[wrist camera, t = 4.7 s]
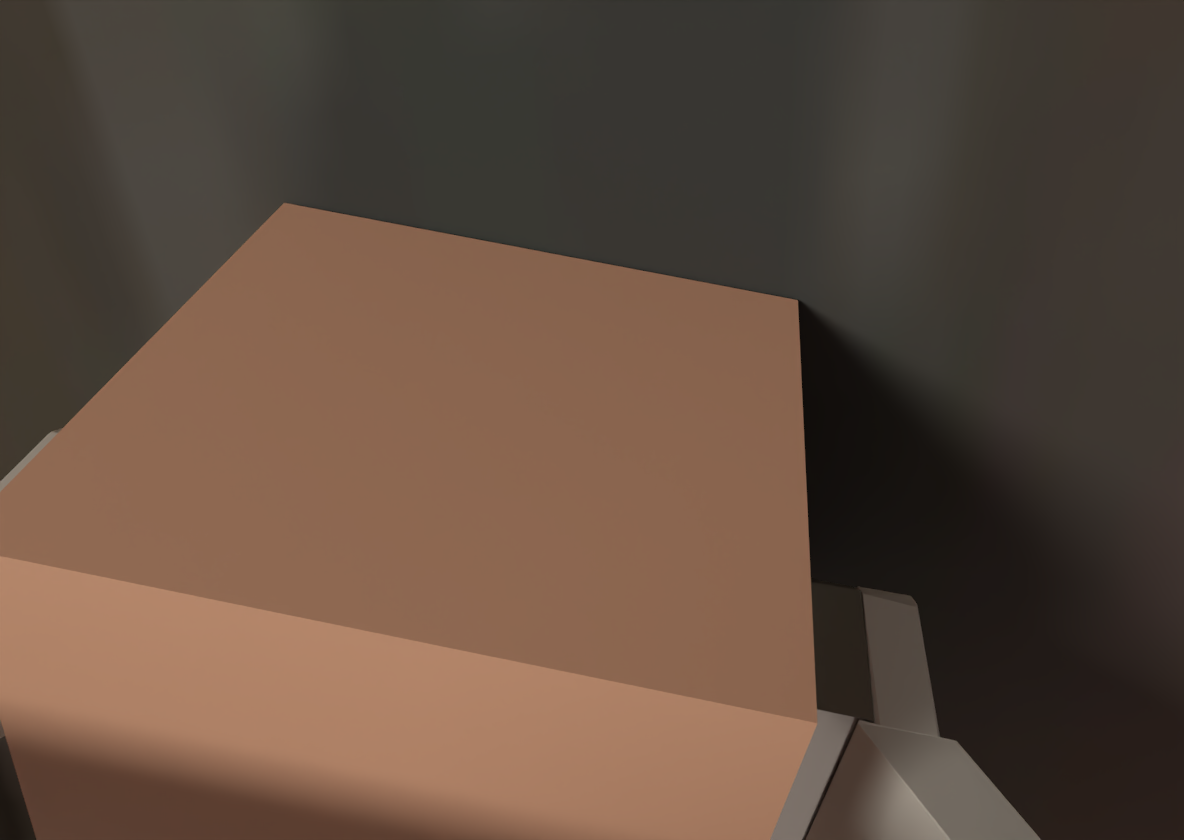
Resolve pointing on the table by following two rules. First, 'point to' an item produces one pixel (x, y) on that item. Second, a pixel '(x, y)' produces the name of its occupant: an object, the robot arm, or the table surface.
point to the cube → (419, 556)
